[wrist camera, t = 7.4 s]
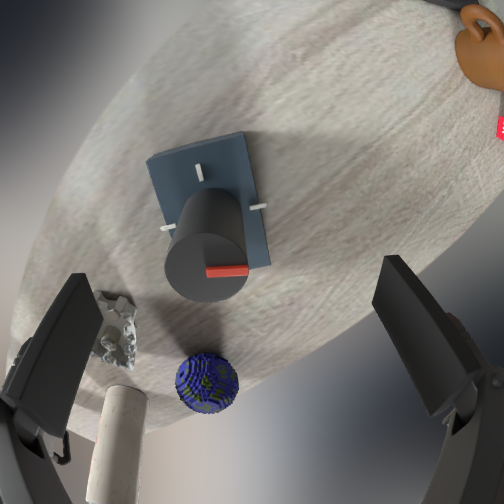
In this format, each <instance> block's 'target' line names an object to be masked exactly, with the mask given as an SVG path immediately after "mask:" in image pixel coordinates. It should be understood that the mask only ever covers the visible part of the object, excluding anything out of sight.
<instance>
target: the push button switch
mask: <svg viewBox="0 0 504 504" xmlns="http://www.w3.org/2000/svg"><path fill="white" fill-rule="evenodd" d="M424 1H428V2H431V3H435V4H438V5H441V6H444V7H447V8H450V9H453V10H456V11H459V12H461V10H462V8H463V7H464V6H467V5H470V4H476V5H479V3H478V0H424Z"/></svg>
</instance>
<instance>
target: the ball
mask: <svg viewBox="0 0 504 504" xmlns="http://www.w3.org/2000/svg"><path fill="white" fill-rule="evenodd" d="M175 385H176V389H177V393H178V395H179V397H180V400H181V401H183V403H185V404H186V406H188V407H189V408H190V409H193V411H196V412H199V413H200V412H201V413H204V414H206V413H208V414H210V413H212V414H214V413H215V412H216V413H218V412H220V411H222V410H224V409H225V408H226V407H228V406H229V405H231V404H232V403H233V402H232V401H234V398H235V397H236V394H237V393H238V390H239V383H238V377H237V373H236V372H235V370H234V369H232V366H231V364H230V363H228V360H226V359H224V358H221V357H219V356H217V355H215V354H213V353H211V354H208V353H207V354H204V353H202V354H196V355H194V356H191V357H189V358H188V359H187V360H185V361H184V362H183V363H182V365H180V367H179V369H178V372H177V373H176V380H175Z"/></svg>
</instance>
